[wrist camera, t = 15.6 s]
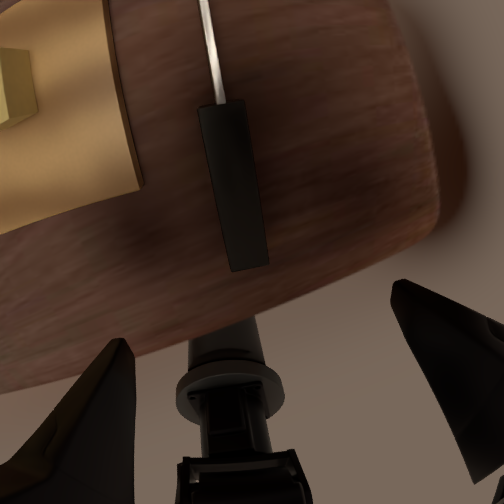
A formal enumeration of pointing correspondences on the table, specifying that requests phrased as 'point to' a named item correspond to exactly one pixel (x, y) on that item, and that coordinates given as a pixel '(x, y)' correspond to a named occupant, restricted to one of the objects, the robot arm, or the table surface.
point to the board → (65, 114)
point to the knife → (231, 165)
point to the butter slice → (15, 87)
